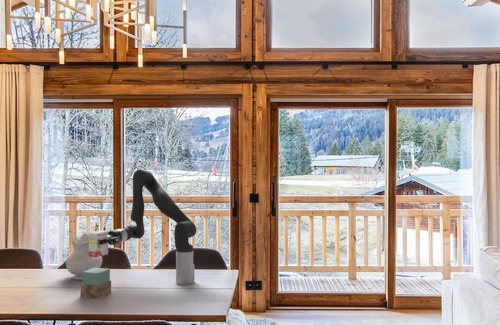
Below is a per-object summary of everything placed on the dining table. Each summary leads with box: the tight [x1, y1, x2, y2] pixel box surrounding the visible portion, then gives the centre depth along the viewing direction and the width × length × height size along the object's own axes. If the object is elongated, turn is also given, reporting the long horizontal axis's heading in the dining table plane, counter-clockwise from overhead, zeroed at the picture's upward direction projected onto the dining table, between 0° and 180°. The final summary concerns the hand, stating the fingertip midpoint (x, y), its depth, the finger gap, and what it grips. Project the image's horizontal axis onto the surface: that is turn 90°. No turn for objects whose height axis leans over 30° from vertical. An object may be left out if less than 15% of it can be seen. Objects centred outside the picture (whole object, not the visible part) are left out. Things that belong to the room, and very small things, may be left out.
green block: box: [81, 267, 111, 286], centre depth 194 cm, size 9×9×6 cm
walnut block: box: [80, 280, 112, 300], centre depth 193 cm, size 10×10×6 cm
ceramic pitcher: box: [65, 232, 103, 281], centre depth 224 cm, size 22×20×25 cm
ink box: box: [88, 230, 109, 257], centre depth 196 cm, size 9×5×12 cm, turn 156°
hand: (95, 242), depth 194 cm, fingers closed on ink box, 5 cm apart
